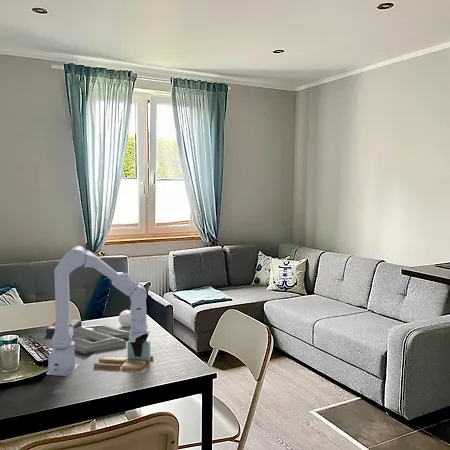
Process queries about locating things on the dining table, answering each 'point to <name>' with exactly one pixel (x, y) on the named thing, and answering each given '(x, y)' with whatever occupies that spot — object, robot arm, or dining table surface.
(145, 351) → the teal panel
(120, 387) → the dining table surface
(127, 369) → the tan flat block
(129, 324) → the geometric ball
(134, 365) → the oak offcut
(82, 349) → the emblem
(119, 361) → the rack
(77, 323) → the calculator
